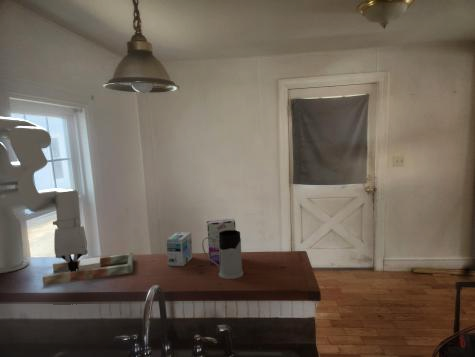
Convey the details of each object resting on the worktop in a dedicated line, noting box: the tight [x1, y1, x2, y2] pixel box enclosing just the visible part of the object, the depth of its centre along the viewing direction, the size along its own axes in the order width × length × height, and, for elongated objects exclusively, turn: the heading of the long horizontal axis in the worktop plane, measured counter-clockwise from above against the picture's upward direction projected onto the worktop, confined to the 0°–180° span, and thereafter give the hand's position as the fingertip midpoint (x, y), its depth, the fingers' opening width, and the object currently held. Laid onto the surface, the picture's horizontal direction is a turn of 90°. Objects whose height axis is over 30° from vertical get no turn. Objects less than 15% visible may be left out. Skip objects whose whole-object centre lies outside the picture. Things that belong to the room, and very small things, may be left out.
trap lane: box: [42, 252, 134, 286], centre depth 115 cm, size 29×14×3 cm, turn 107°
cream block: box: [78, 256, 102, 271], centre depth 116 cm, size 7×7×4 cm
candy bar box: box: [206, 218, 237, 265], centre depth 121 cm, size 11×5×16 cm, turn 102°
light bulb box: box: [166, 231, 193, 267], centre depth 122 cm, size 11×7×11 cm, turn 168°
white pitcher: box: [201, 230, 244, 280], centre depth 108 cm, size 9×14×15 cm, turn 91°
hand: (73, 271), depth 113 cm, fingers closed
